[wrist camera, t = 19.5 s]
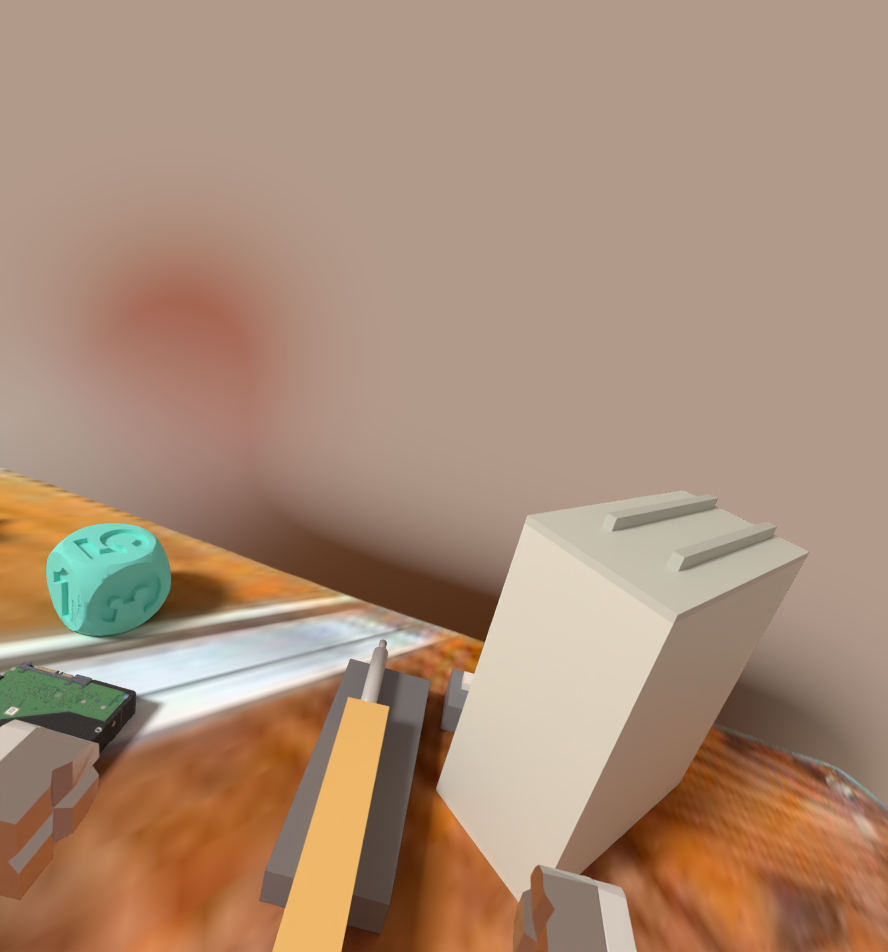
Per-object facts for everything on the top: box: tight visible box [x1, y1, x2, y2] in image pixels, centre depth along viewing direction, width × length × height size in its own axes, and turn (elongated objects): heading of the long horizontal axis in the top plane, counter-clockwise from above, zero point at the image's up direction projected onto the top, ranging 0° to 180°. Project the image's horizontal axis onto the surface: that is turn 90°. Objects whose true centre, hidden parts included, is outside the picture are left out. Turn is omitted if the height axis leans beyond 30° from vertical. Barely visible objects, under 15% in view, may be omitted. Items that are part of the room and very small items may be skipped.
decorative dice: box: [46, 523, 171, 636], centre depth 53 cm, size 8×8×8 cm
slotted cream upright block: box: [436, 491, 809, 902], centre depth 44 cm, size 22×11×27 cm, turn 129°
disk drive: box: [0, 661, 136, 753], centre depth 38 cm, size 10×3×15 cm
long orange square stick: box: [272, 640, 389, 952], centre depth 39 cm, size 30×3×3 cm, turn 177°
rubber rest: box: [260, 659, 430, 934], centre depth 43 cm, size 8×20×3 cm, turn 174°
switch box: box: [440, 669, 474, 733], centre depth 52 cm, size 8×5×4 cm, turn 84°
